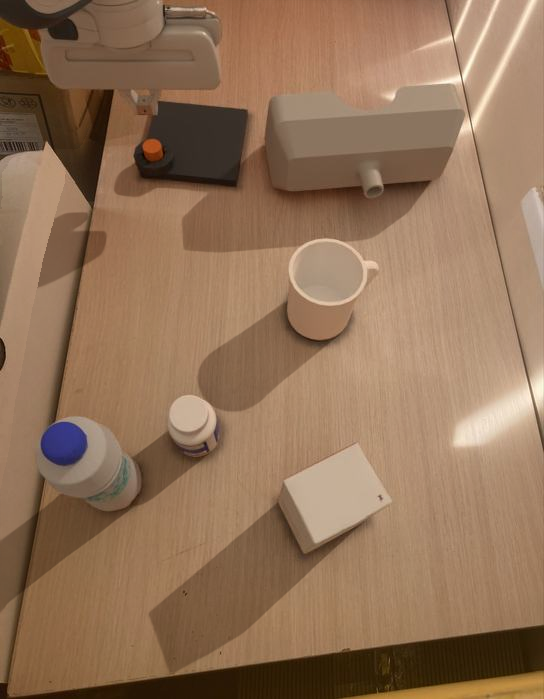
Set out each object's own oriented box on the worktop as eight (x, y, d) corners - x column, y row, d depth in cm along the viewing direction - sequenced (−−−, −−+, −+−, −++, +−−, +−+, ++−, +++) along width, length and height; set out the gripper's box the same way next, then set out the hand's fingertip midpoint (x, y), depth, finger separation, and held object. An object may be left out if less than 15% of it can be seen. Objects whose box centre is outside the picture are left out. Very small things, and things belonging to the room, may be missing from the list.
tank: (277, 228, 75) (282, 164, 64) (263, 142, 81) (265, 70, 70) (449, 214, 77) (484, 149, 66) (423, 131, 84) (450, 58, 72)
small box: (338, 468, 62) (358, 439, 50) (367, 520, 59) (395, 502, 48) (275, 501, 60) (281, 479, 48) (302, 555, 58) (315, 546, 46)
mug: (294, 352, 67) (301, 313, 58) (275, 292, 71) (279, 247, 61) (376, 332, 69) (395, 291, 60) (353, 274, 72) (368, 228, 63)
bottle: (130, 443, 62) (79, 383, 44) (157, 494, 60) (115, 452, 42) (76, 475, 60) (-1, 426, 42) (102, 528, 58) (33, 500, 40)
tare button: (143, 161, 76) (140, 151, 74) (146, 147, 77) (144, 137, 75) (161, 163, 76) (159, 153, 74) (164, 149, 77) (162, 139, 75)
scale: (134, 181, 78) (130, 166, 75) (153, 107, 84) (150, 91, 81) (235, 191, 78) (235, 176, 75) (247, 116, 84) (247, 100, 81)
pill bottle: (193, 405, 64) (185, 378, 56) (228, 430, 63) (225, 406, 55) (165, 440, 62) (151, 418, 54) (200, 467, 61) (192, 448, 53)
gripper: (220, -13, 58) (227, 94, 71) (30, -15, 58) (71, 93, 70) (219, 26, 56) (226, 130, 68) (20, 25, 55) (64, 129, 68)
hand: (146, 111), depth 69 cm, fingers closed
